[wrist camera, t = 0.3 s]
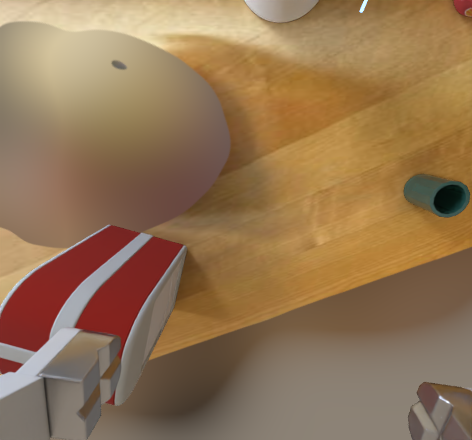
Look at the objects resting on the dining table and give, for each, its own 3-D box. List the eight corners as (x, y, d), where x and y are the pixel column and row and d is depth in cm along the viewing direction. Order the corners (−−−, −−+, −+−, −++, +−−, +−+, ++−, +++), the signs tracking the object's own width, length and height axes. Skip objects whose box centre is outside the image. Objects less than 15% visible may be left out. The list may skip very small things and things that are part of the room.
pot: (408, 171, 51) (436, 178, 43) (441, 175, 51) (475, 183, 42) (399, 202, 53) (424, 214, 44) (431, 206, 52) (462, 219, 44)
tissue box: (106, 222, 58) (-15, 292, 33) (188, 245, 58) (132, 332, 33) (98, 290, 63) (-13, 396, 38) (173, 311, 63) (114, 431, 38)
